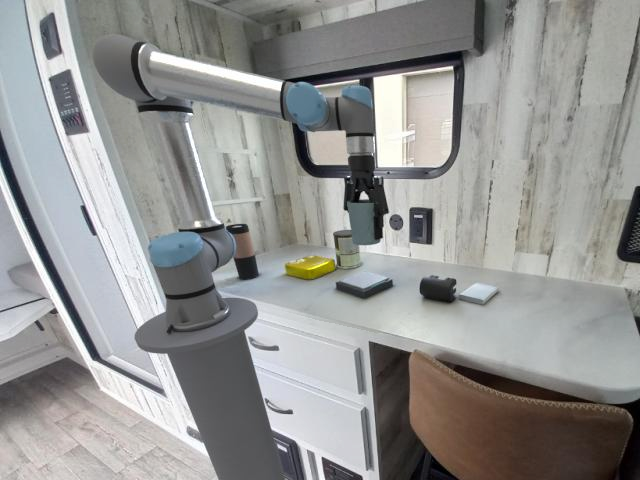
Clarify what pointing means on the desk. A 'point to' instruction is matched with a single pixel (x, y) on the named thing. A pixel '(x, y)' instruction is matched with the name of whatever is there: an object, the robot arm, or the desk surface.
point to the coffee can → (346, 250)
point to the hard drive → (478, 293)
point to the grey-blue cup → (362, 222)
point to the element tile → (310, 267)
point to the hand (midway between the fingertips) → (366, 236)
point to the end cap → (438, 288)
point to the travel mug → (243, 251)
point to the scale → (364, 284)
